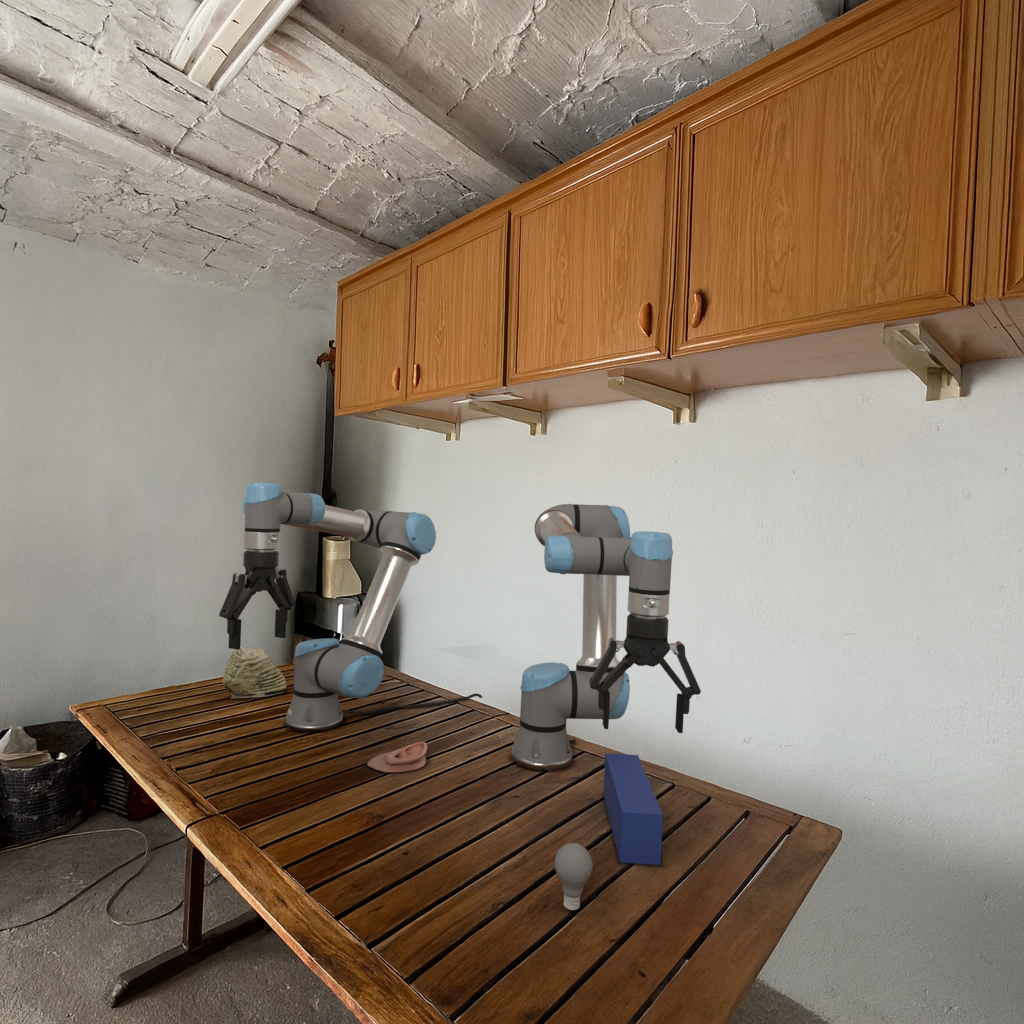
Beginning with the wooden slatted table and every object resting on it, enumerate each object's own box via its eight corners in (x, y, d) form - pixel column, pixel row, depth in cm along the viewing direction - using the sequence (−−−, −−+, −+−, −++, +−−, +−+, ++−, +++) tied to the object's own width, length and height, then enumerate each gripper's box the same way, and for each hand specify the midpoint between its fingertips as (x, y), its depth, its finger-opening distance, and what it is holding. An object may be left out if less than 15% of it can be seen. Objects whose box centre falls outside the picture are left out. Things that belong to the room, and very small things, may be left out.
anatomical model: (361, 752, 147) (381, 734, 159) (361, 769, 148) (381, 750, 159) (415, 759, 145) (432, 741, 156) (415, 776, 145) (431, 757, 156)
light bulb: (550, 895, 103) (552, 835, 103) (586, 895, 104) (589, 835, 104) (555, 920, 97) (558, 856, 97) (594, 919, 98) (597, 855, 98)
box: (603, 794, 141) (605, 753, 140) (636, 796, 140) (638, 754, 140) (620, 862, 114) (622, 811, 114) (660, 865, 114) (663, 814, 114)
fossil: (218, 695, 195) (220, 647, 195) (278, 685, 208) (279, 640, 207) (228, 703, 189) (230, 653, 188) (289, 692, 201) (290, 645, 201)
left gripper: (229, 554, 132) (225, 656, 132) (312, 548, 154) (308, 635, 155) (203, 552, 135) (200, 651, 135) (288, 546, 157) (285, 631, 158)
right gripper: (582, 615, 114) (576, 732, 114) (721, 622, 113) (715, 740, 114) (578, 608, 121) (573, 717, 122) (710, 614, 121) (704, 724, 121)
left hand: (258, 642), depth 145 cm, fingers open, 13 cm apart
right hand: (642, 728), depth 118 cm, fingers open, 13 cm apart
